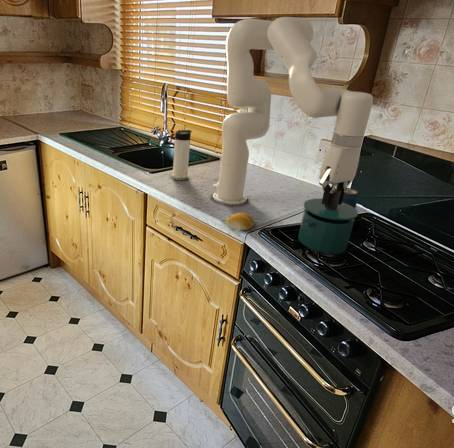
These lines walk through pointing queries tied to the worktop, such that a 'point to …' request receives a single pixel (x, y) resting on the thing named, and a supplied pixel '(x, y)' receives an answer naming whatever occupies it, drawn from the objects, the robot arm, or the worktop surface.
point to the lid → (331, 208)
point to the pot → (325, 233)
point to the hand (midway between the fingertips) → (331, 203)
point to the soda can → (350, 197)
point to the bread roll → (240, 221)
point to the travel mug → (181, 154)
